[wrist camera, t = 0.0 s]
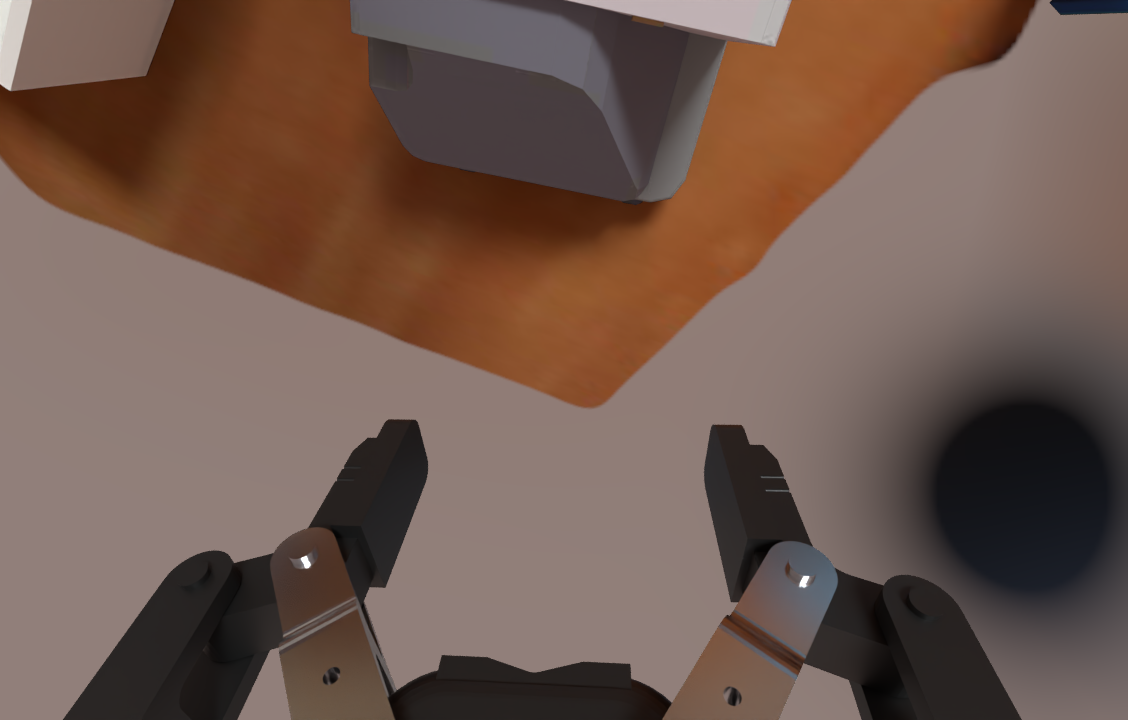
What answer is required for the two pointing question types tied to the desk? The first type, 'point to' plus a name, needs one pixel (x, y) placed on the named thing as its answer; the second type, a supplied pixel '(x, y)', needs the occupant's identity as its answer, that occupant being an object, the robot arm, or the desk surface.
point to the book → (1090, 6)
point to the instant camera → (557, 84)
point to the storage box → (77, 40)
